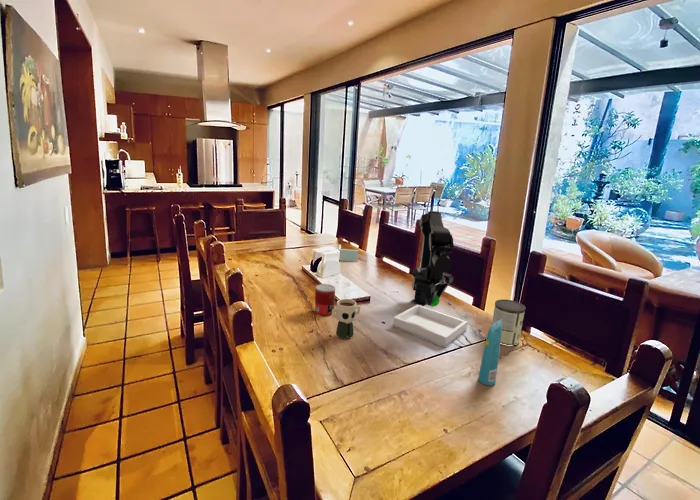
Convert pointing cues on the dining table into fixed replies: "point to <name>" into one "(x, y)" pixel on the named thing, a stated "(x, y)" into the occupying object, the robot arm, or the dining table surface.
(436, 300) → the polyhedron
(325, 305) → the canned food
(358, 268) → the dining table surface
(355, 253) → the l-shaped corner panel
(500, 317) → the coffee can
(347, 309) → the character mug
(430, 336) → the white tray
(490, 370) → the tube
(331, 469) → the dining table surface
